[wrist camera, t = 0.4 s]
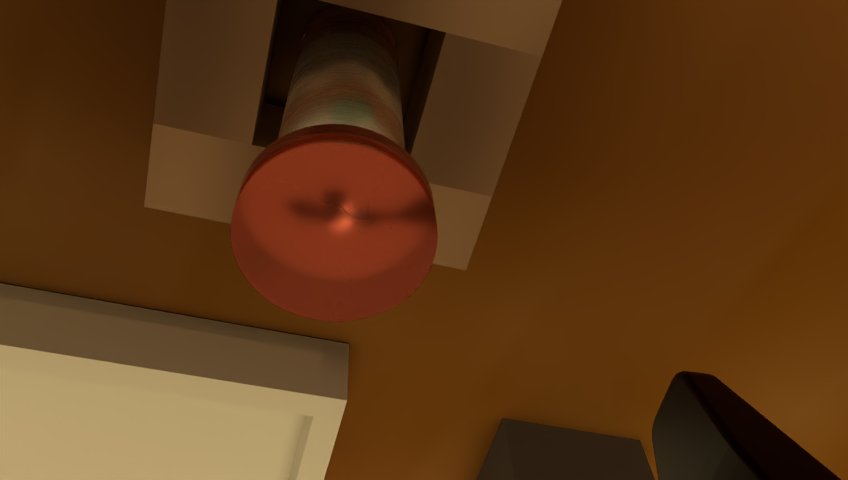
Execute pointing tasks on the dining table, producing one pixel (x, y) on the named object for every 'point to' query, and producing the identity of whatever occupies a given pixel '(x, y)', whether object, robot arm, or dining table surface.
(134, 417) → the tray
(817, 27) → the dining table surface
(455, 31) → the socket block
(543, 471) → the chock
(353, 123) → the red capped bottle
